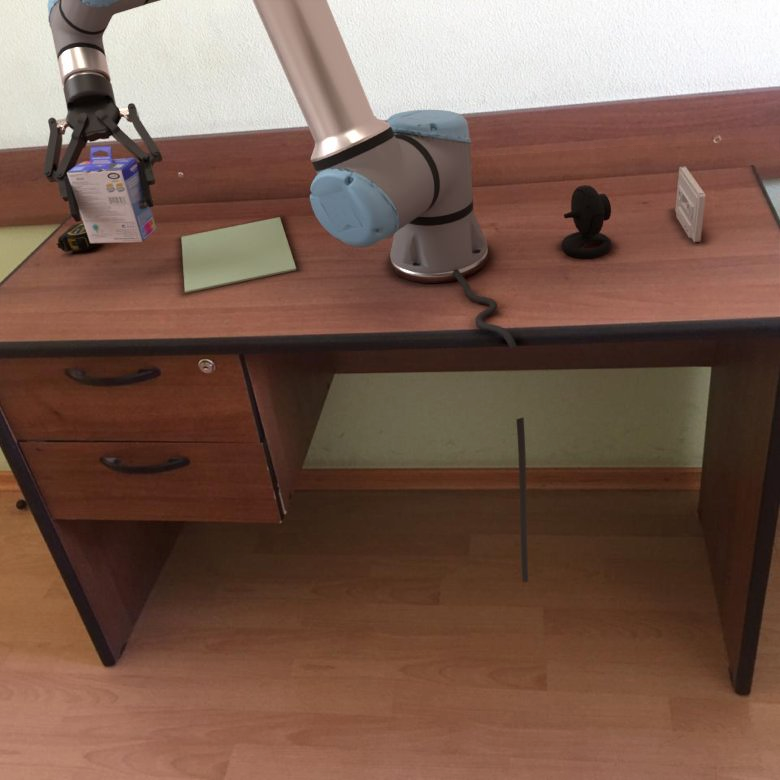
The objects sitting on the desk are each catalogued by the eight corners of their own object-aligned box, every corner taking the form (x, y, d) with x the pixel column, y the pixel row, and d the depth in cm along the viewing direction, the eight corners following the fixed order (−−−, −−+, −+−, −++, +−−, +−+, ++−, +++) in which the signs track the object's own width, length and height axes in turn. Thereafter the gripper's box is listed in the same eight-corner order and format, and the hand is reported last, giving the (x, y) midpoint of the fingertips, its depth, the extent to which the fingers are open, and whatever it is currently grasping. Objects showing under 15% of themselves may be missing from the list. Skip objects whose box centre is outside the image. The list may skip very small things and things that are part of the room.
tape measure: (78, 239, 155) (71, 220, 153) (112, 237, 154) (105, 219, 152) (60, 255, 150) (53, 236, 148) (95, 254, 148) (88, 235, 146)
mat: (296, 270, 134) (296, 268, 134) (185, 293, 132) (184, 291, 132) (280, 219, 152) (279, 216, 152) (181, 238, 150) (181, 236, 150)
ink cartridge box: (159, 228, 137) (133, 142, 129) (144, 243, 133) (117, 155, 124) (105, 230, 139) (76, 145, 131) (89, 244, 135) (58, 158, 127)
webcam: (620, 252, 127) (623, 190, 121) (575, 263, 125) (576, 201, 120) (596, 233, 133) (598, 173, 127) (553, 243, 132) (553, 183, 126)
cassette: (703, 242, 126) (709, 194, 122) (691, 243, 126) (696, 196, 122) (683, 210, 136) (688, 165, 132) (672, 211, 136) (676, 166, 132)
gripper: (163, 84, 139) (190, 205, 135) (22, 110, 136) (45, 234, 133) (154, 58, 132) (182, 185, 128) (4, 85, 129) (29, 216, 125)
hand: (113, 210), depth 130 cm, fingers closed on ink cartridge box, 11 cm apart
